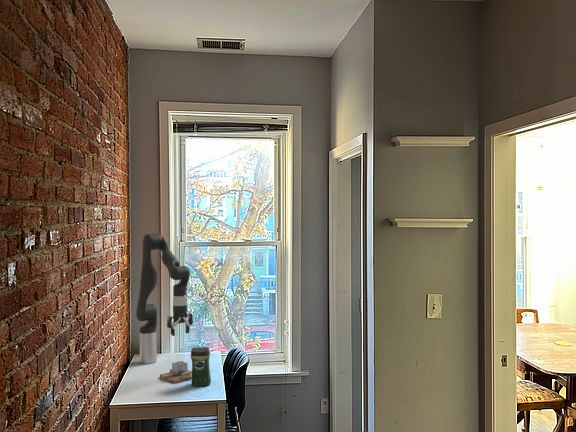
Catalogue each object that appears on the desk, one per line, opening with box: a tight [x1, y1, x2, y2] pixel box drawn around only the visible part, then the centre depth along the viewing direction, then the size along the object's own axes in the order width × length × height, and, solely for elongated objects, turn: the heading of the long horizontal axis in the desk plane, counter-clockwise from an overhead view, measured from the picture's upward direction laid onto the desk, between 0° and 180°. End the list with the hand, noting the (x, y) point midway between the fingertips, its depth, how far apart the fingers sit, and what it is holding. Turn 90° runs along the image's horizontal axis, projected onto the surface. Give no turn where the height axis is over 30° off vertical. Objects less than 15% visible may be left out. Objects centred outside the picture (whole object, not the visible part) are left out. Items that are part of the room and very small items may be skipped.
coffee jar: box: [190, 346, 212, 387], centre depth 282 cm, size 10×8×19 cm
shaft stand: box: [159, 363, 192, 385], centre depth 295 cm, size 15×15×8 cm
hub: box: [171, 360, 189, 377], centre depth 295 cm, size 6×6×6 cm
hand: (180, 334), depth 300 cm, fingers open, 8 cm apart
